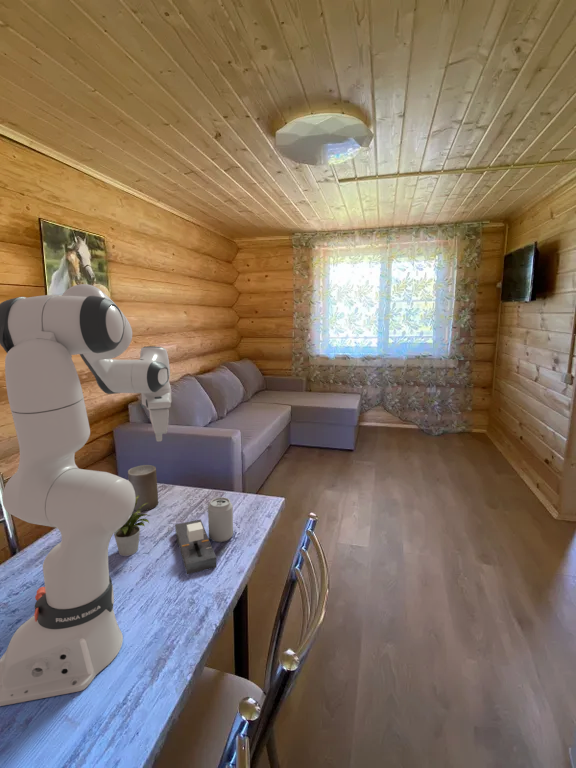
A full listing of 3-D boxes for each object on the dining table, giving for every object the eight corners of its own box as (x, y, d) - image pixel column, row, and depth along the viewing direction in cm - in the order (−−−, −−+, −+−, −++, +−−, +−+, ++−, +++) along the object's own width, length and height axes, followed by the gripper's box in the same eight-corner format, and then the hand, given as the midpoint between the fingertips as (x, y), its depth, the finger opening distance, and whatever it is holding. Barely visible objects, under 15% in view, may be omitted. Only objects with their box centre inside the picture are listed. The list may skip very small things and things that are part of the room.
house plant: (105, 575, 101) (100, 518, 99) (92, 551, 112) (87, 499, 109) (157, 554, 110) (154, 502, 108) (141, 534, 121) (138, 485, 118)
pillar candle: (161, 498, 145) (159, 461, 143) (154, 511, 136) (151, 471, 133) (135, 499, 145) (132, 461, 142) (126, 512, 135) (123, 472, 133)
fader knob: (189, 547, 108) (189, 531, 107) (187, 540, 112) (186, 524, 111) (203, 544, 110) (203, 528, 109) (201, 537, 113) (200, 521, 113)
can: (235, 531, 123) (234, 496, 121) (229, 544, 116) (229, 507, 114) (212, 529, 124) (211, 495, 122) (205, 543, 116) (204, 506, 114)
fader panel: (186, 574, 102) (186, 564, 101) (175, 533, 122) (175, 524, 121) (216, 567, 105) (216, 556, 104) (200, 527, 125) (200, 519, 124)
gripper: (143, 392, 128) (146, 432, 130) (148, 405, 109) (151, 451, 112) (163, 391, 130) (165, 430, 133) (171, 403, 112) (173, 448, 114)
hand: (159, 440), depth 122 cm, fingers closed
